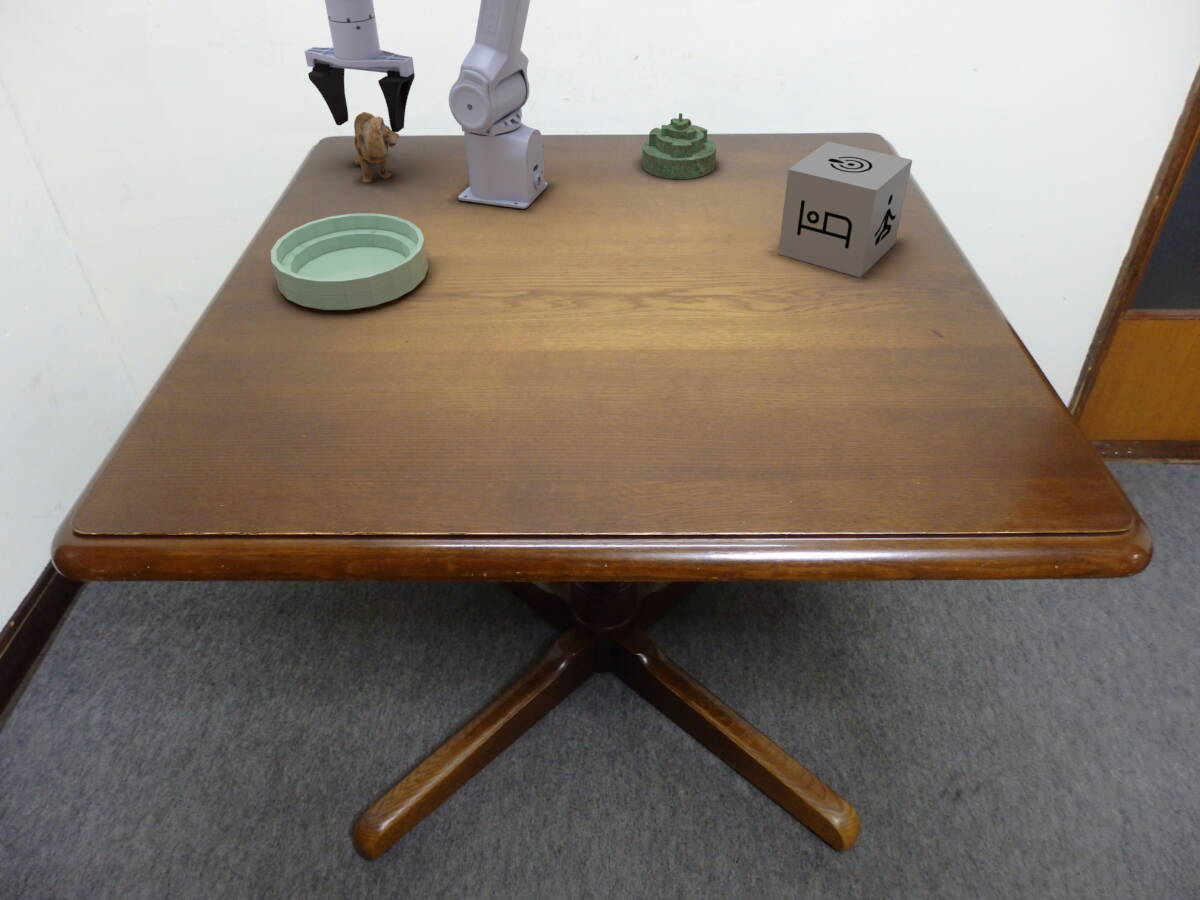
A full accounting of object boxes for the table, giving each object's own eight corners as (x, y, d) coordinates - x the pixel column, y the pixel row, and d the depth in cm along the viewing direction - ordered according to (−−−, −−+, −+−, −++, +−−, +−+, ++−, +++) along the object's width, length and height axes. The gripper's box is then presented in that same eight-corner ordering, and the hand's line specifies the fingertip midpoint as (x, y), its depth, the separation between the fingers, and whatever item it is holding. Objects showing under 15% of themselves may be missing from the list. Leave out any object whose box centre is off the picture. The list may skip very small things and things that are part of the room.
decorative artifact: (641, 179, 122) (716, 179, 121) (642, 126, 117) (720, 126, 117) (642, 151, 130) (712, 151, 129) (643, 101, 125) (716, 101, 125)
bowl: (452, 255, 105) (448, 223, 103) (383, 325, 93) (376, 290, 91) (330, 237, 109) (323, 205, 107) (249, 301, 97) (239, 267, 95)
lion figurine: (408, 186, 121) (399, 119, 115) (369, 194, 120) (357, 126, 114) (378, 147, 131) (368, 83, 125) (341, 153, 130) (329, 89, 124)
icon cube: (778, 253, 104) (788, 169, 98) (816, 222, 111) (828, 141, 104) (860, 277, 100) (876, 190, 94) (895, 243, 106) (912, 159, 100)
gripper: (419, 13, 114) (432, 121, 123) (318, 4, 118) (338, 110, 126) (391, 27, 109) (407, 140, 117) (287, 18, 112) (310, 127, 121)
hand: (369, 126), depth 121 cm, fingers open, 7 cm apart
